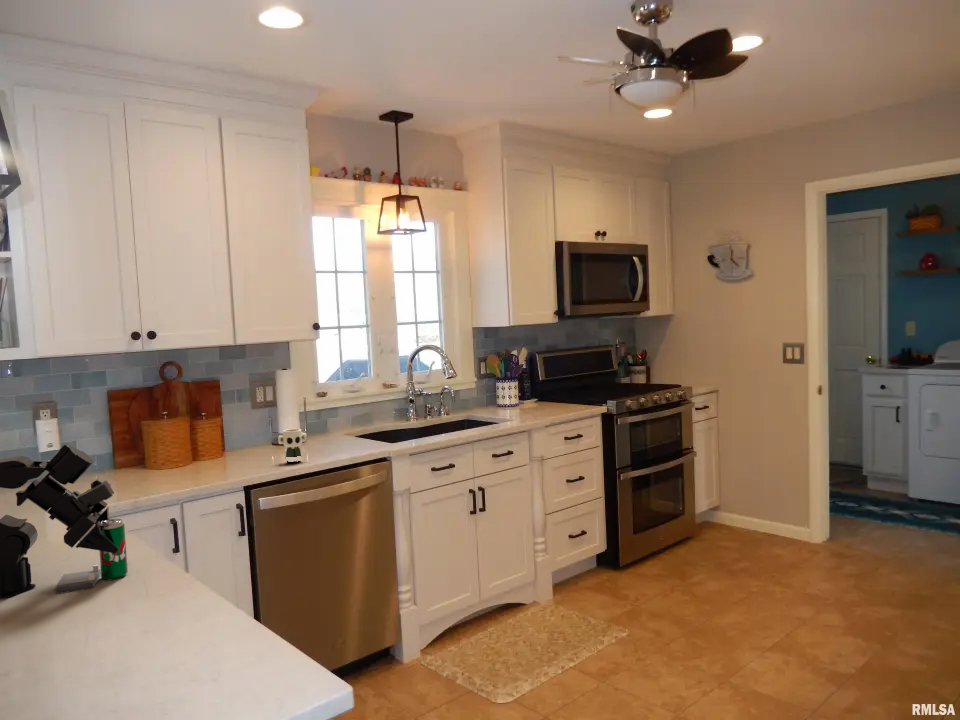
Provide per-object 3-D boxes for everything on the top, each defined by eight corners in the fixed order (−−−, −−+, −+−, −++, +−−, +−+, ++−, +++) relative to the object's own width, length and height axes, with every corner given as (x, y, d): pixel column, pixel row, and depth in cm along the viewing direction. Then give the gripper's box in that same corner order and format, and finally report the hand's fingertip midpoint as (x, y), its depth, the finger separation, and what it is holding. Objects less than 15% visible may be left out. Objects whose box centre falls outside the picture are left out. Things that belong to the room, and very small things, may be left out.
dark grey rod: (56, 594, 142) (55, 588, 142) (57, 592, 143) (57, 586, 143) (93, 589, 144) (92, 583, 144) (94, 587, 145) (93, 581, 145)
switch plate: (56, 590, 144) (56, 579, 144) (64, 579, 151) (63, 568, 150) (95, 584, 146) (94, 573, 146) (100, 573, 153) (100, 563, 153)
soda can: (121, 570, 154) (117, 517, 154) (132, 575, 151) (128, 520, 151) (97, 577, 151) (93, 522, 150) (107, 582, 147) (103, 526, 147)
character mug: (280, 465, 271) (278, 432, 270) (278, 462, 277) (276, 430, 277) (309, 462, 275) (307, 429, 275) (306, 459, 282) (304, 427, 281)
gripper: (78, 479, 140) (143, 526, 144) (93, 463, 157) (151, 505, 162) (35, 523, 137) (102, 570, 142) (55, 502, 155) (115, 544, 159)
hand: (119, 545), depth 151 cm, fingers open, 9 cm apart
